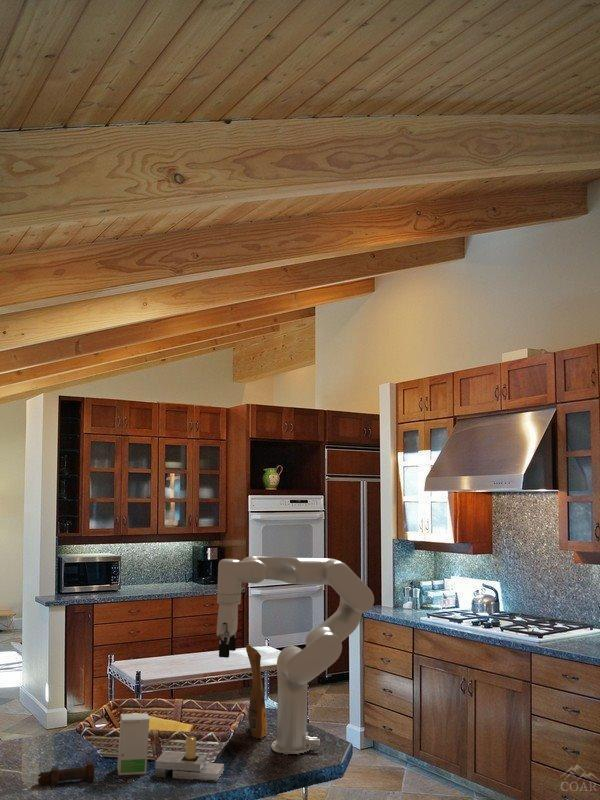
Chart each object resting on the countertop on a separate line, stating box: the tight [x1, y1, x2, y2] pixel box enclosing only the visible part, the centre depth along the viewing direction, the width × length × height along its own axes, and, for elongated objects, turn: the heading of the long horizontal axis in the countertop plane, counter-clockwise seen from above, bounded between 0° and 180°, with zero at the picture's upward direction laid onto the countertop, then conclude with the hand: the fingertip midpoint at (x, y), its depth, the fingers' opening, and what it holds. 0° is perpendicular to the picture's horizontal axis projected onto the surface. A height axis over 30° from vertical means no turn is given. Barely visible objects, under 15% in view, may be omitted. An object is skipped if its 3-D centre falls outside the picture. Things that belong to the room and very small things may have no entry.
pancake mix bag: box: [245, 643, 268, 740], centre depth 275 cm, size 7×19×28 cm, turn 9°
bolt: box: [37, 760, 95, 786], centre depth 226 cm, size 6×5×15 cm
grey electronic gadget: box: [154, 751, 225, 782], centre depth 235 cm, size 18×8×4 cm, turn 83°
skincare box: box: [116, 712, 150, 776], centre depth 236 cm, size 8×7×16 cm
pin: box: [184, 736, 197, 762], centre depth 235 cm, size 3×3×10 cm
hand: (227, 653), depth 255 cm, fingers open, 9 cm apart
